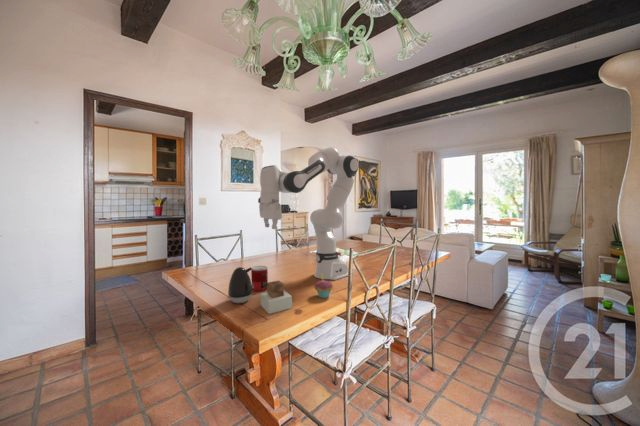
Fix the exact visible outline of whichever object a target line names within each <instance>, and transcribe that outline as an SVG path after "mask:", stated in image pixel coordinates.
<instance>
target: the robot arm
mask: <svg viewBox="0 0 640 426" xmlns="http://www.w3.org/2000/svg"><path fill="white" fill-rule="evenodd" d="M307 162H308V163H307V164H308V166H307V167H305V168H303V169H302V170H294V171H289V172H286V171H283V170H282V169H280V168H279V167H278V166H277V165H275V164H274V165H267V166H263V167H262V168H261V170H260V173H259V174H260V176H259V177H260V178H259V179H260V180H259V184H260V187H261V188H260V197H259V198H258V199H257V203H258V204H259V206H258V208H259V217H260V218H262V219H263V222H264V227H265V228H270V223H269V220H271V221H272V223H271V224H272V225H271V229H272V230H276V229H277V225H278V221H279V220H282V218H283V217H282V215H283V214H282V205H281V203H280V193H283V194H286V193H287V194H288V193H293V194H298V193H301V192H302V191H303V190H305V188H306V186H307V185H308V183H309V182H310V181H312V180H313V179H315V178H316V177H318V176H319V175H320V174H323V173H325V172H328V173H329V174H331V175H336V180H335V181H334V183H333V185H332V187H331V189H330V190H329V193H328V194H327V195H326V196H327V197H326V200H327V203H326V206H325V208H319V209H315V210H313V211H312V212H311V213H310V216H309V218H310V222H311V224H312V225H313V229H314V233H315V237H316V252H315V258H316V259H315V260H316V261H315V262H316V265H315V271H314V278H317V279H321V280H322V276H321V273H323V280H332V281H336V280H340V279H343V278H346V277H349V276H348V269H349V268H348V265H347V263H346V262H345V261H344V260H342V259H341V258H339V257H341V256H342V255H343V253H342V252H340V251H337V246H336V244H337V243H336V241H337V240H336V237H335V236H334V234H333V230H336V229H339V228H340V227H342V226H343V224H344V219H345V218H344V215H343V210H344V206H345V203H346V202H347V199H348V197H349V196H350V193H351V191H352V188H353V186H354V183H355V179H354V177H355V176H356V174H357V173H358V170H359V168H360V162H359V159H358V157H356V156H354V155H344V154H343V155H340V153H339V151H338V150H337V149H336V148H335V147H332V146H329V147H326V148H324V149H323V148H322V149H321V150H319V151H317V152H315V153H314V154H312V155H311V156H310V157H309V158H308V161H307Z"/></svg>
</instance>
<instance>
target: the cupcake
mask: <svg viewBox="0 0 640 426" xmlns="http://www.w3.org/2000/svg"><path fill="white" fill-rule="evenodd" d="M321 276H322V279H321V280H318V281H317V282H316V283H314V289H315V291H316V292H317V294H318V297H319V298H320V299H326V298H329V297H330V294H331V292H332V290H333V288H334V287H333V283H332V282H331V281H329V280H328V279H323V273H321Z"/></svg>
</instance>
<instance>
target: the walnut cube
mask: <svg viewBox="0 0 640 426" xmlns="http://www.w3.org/2000/svg"><path fill="white" fill-rule="evenodd" d="M284 286H285V285H284V283H283V282H282V281H280V280H274V281H270V282H269V281H268V288H267V292H268V295H269V296H270V297H272V298H275V297H280V296H284V291H285V289H284V288H285V287H284Z"/></svg>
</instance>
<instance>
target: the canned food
mask: <svg viewBox="0 0 640 426" xmlns="http://www.w3.org/2000/svg"><path fill="white" fill-rule="evenodd" d="M251 268H252V270H250V271H251V274H250V275H251V285H252V292H259V293H261V292H265V291H268V282H269V281H268V279H269V276H268V274H269V273H268V266H266V265H256V266H252V267H251Z"/></svg>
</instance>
